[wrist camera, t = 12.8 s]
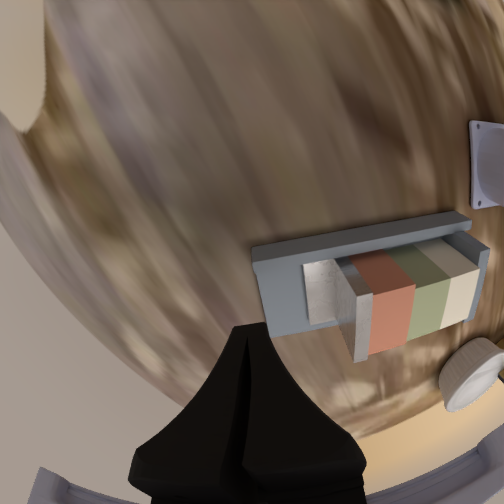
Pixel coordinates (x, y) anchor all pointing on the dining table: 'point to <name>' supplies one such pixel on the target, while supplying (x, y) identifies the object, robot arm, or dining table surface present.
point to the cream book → (453, 278)
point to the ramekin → (470, 373)
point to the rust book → (386, 299)
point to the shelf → (344, 244)
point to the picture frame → (503, 374)
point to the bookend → (340, 301)
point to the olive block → (423, 289)
